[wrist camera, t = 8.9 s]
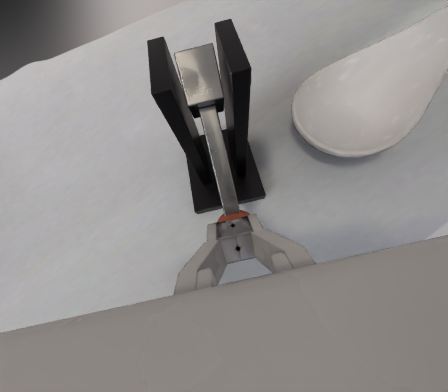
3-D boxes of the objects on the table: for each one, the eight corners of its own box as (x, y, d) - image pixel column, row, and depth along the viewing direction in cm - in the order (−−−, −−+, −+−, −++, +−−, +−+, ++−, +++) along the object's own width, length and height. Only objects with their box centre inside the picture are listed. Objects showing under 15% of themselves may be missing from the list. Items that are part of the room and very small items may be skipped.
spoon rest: (334, 189, 18) (389, 152, 11) (266, 126, 22) (277, 70, 15) (468, 84, 21) (577, 5, 14) (386, 44, 25) (441, -34, 18)
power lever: (257, 237, 14) (267, 257, 11) (220, 245, 14) (220, 268, 11) (221, 70, 11) (221, 33, 8) (178, 81, 12) (161, 49, 8)
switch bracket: (264, 198, 19) (305, 102, 7) (197, 214, 19) (120, 148, 7) (242, 131, 22) (244, -13, 10) (186, 145, 22) (122, 20, 10)
